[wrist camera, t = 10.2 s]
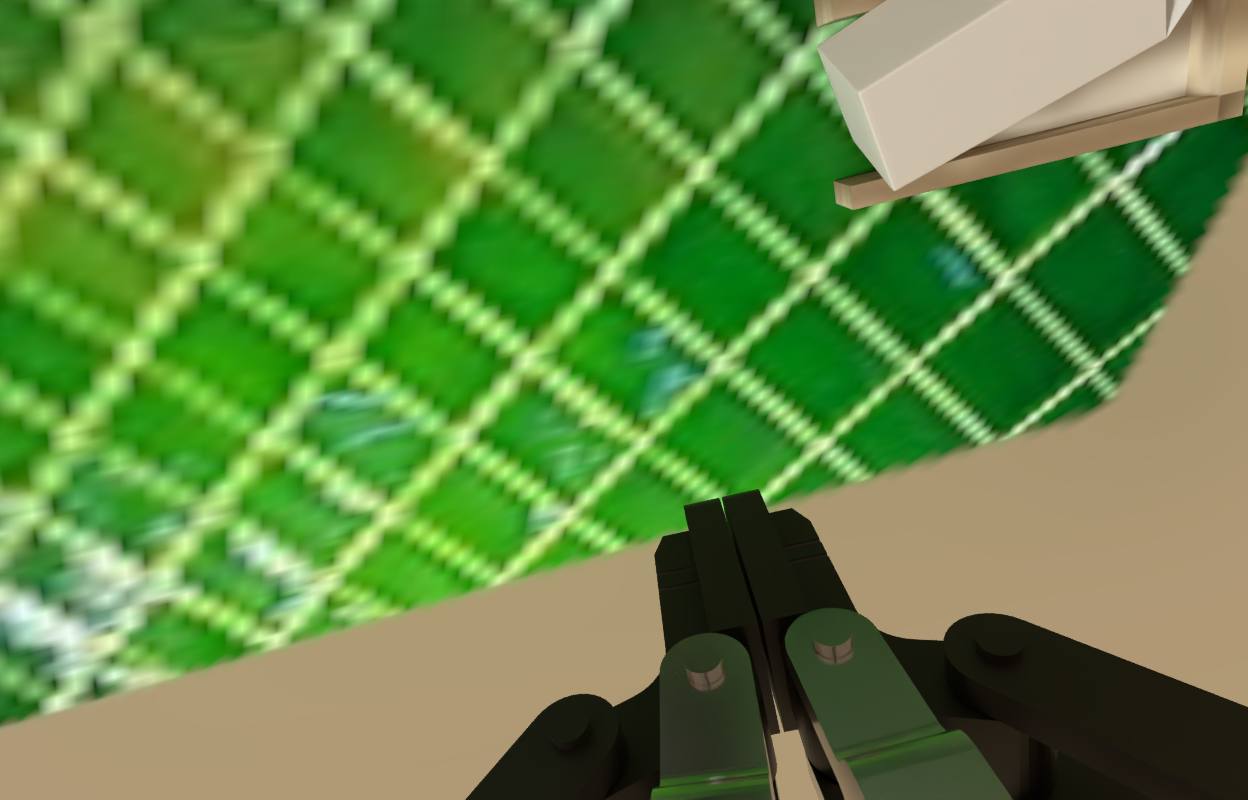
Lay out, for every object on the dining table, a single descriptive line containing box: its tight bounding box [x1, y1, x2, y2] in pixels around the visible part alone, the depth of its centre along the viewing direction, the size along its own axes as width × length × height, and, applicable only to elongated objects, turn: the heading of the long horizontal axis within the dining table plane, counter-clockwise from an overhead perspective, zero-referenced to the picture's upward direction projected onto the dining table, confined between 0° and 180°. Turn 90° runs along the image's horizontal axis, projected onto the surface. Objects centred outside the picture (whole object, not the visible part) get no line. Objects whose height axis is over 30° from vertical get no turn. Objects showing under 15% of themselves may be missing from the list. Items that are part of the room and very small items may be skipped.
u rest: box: [814, 0, 1248, 210], centre depth 42 cm, size 13×24×4 cm, turn 103°
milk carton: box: [817, 0, 1192, 191], centre depth 37 cm, size 7×7×19 cm
